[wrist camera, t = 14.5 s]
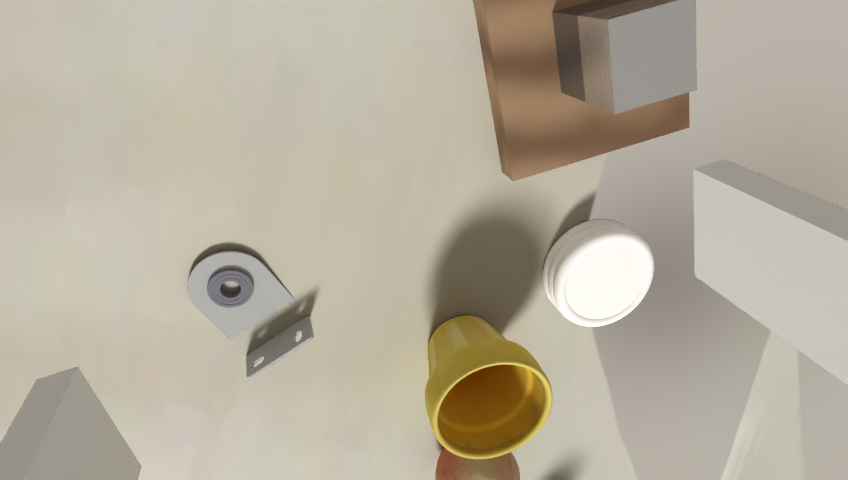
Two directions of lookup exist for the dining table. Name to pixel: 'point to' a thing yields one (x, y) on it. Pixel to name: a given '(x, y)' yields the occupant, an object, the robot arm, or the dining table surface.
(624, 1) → the block
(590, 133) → the cutting board
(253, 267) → the bracket
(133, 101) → the dining table surface
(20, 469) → the robot arm
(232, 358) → the dining table surface
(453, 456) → the fruit
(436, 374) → the plant pot
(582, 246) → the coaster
